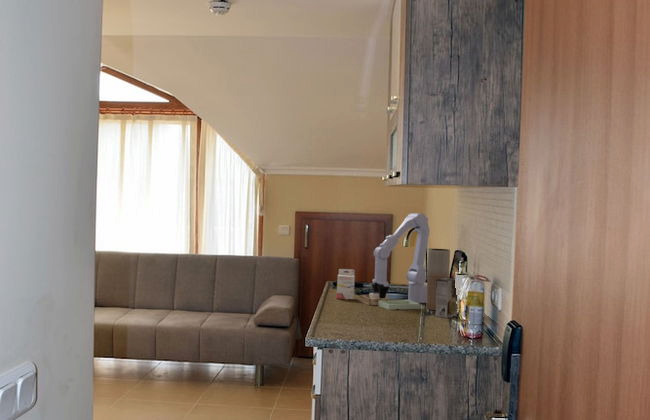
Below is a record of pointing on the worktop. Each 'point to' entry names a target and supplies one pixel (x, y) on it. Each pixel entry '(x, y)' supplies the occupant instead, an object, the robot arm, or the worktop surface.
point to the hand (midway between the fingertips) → (379, 299)
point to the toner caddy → (377, 295)
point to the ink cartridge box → (345, 284)
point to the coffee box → (446, 298)
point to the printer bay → (370, 300)
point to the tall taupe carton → (436, 273)
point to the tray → (399, 304)
